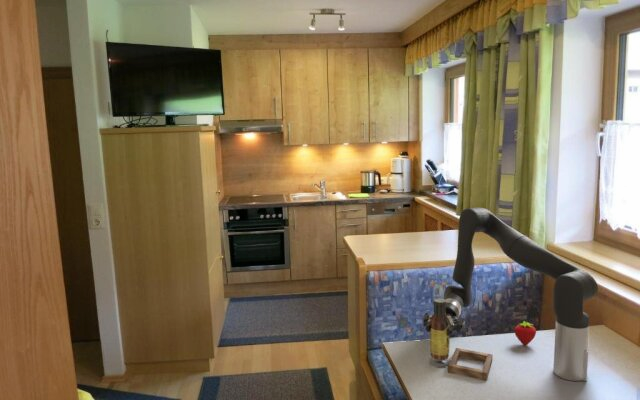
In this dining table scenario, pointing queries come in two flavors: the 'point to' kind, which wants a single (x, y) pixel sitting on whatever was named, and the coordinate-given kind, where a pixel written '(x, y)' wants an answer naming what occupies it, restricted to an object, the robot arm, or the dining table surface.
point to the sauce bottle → (439, 331)
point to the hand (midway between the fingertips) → (438, 331)
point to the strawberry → (525, 332)
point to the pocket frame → (469, 371)
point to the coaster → (439, 362)
